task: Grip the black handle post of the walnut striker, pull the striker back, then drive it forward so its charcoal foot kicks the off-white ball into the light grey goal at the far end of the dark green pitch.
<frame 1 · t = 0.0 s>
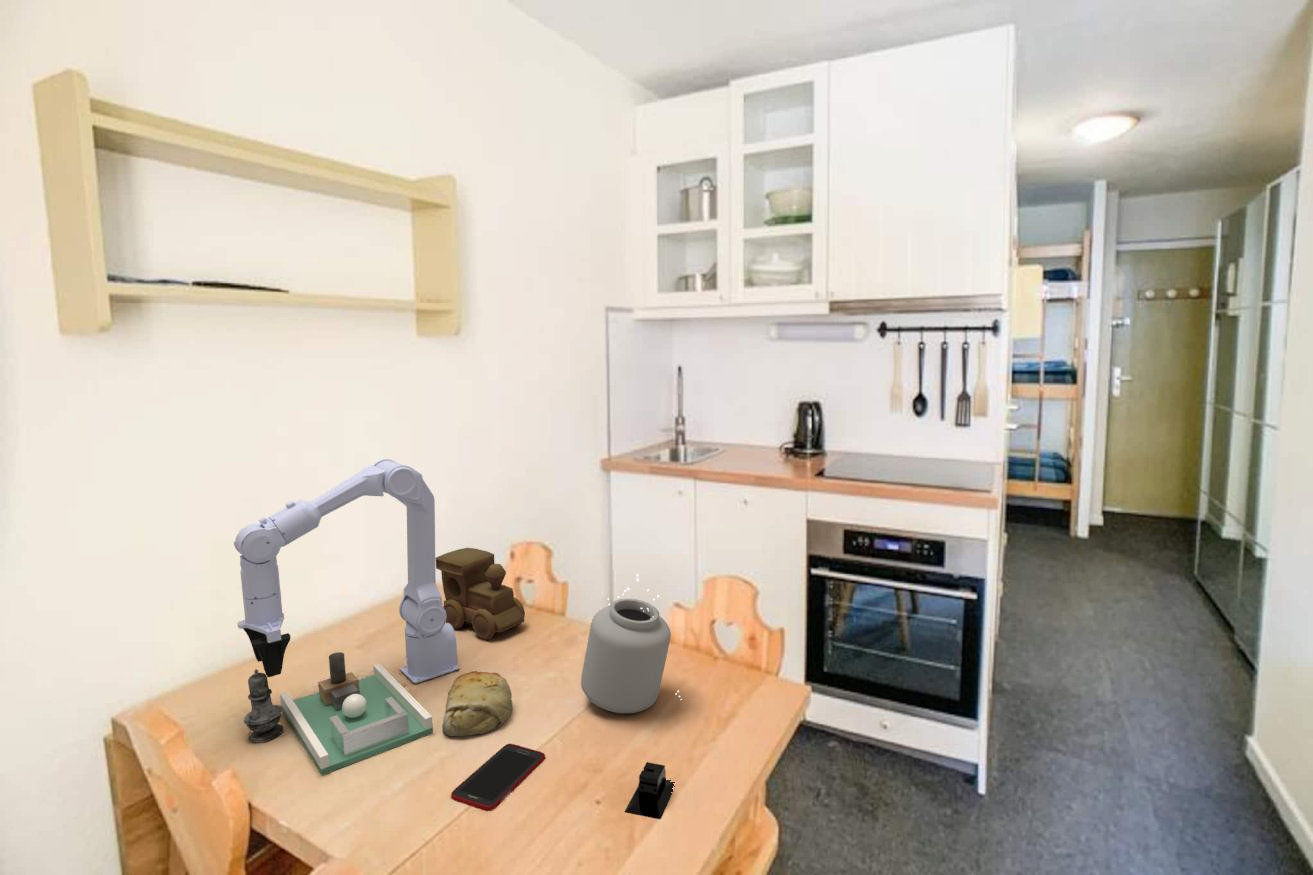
hand: (268, 667, 124), 10 cm above the table, tool pointing down, fingers open, 7 cm apart
wooden toy train: (482, 627, 165), on the table
ball: (354, 705, 125), point 3 cm above the table, touching pitch
salt shaker: (266, 734, 121), on the table, touching gripper
striker: (340, 678, 130), point 5 cm above the table, slide at 2.0 cm
goal: (369, 739, 119), resting on pitch
black stepped block: (652, 799, 105), on the table
pitch: (354, 720, 125), on the table
jar: (631, 703, 131), on the table
pastry: (477, 719, 126), on the table
cell phone: (500, 779, 109), on the table
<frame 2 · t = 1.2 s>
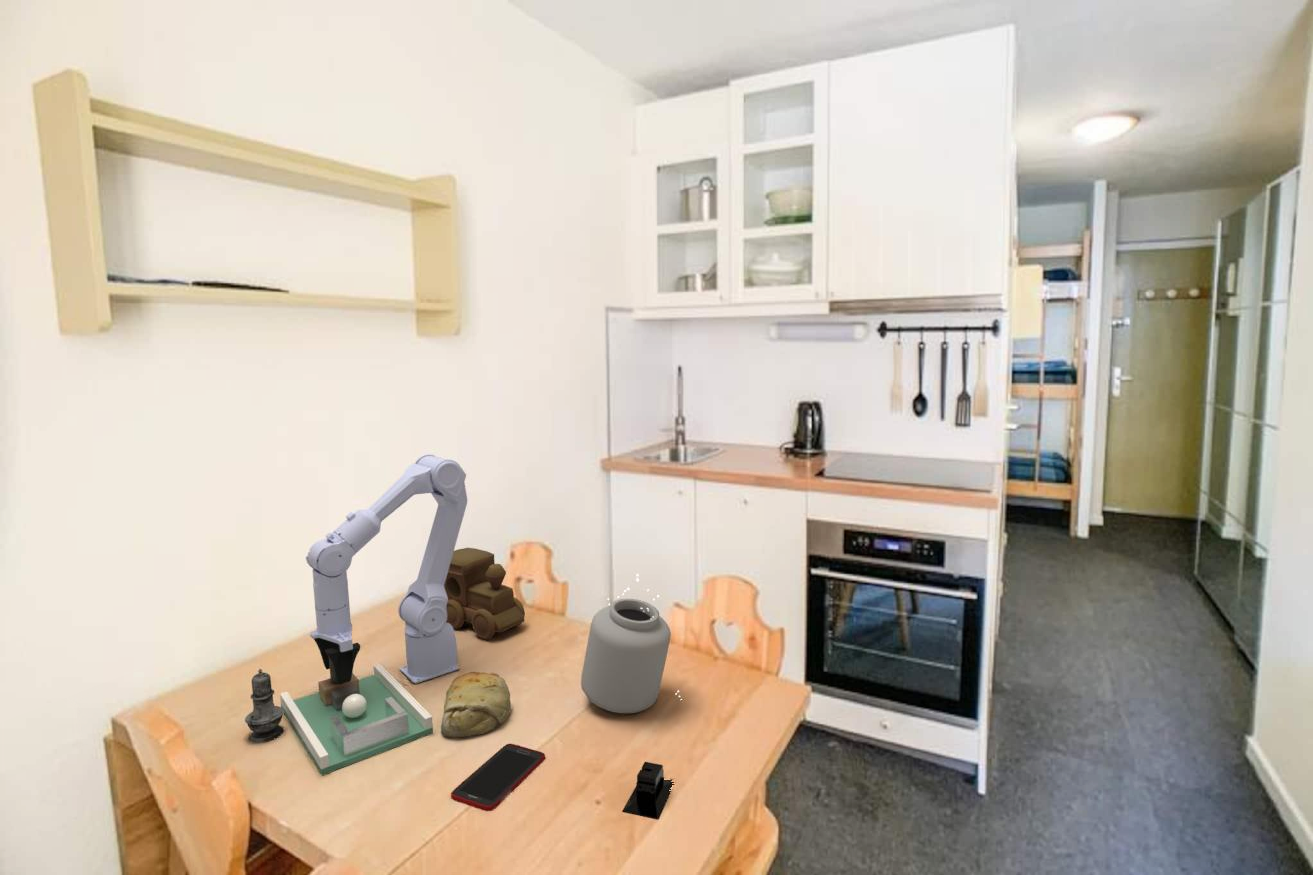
hand: (338, 674, 131), 5 cm above the table, tool pointing down, fingers open, 7 cm apart
salt shaker: (266, 735, 121), on the table
everything else where it was.
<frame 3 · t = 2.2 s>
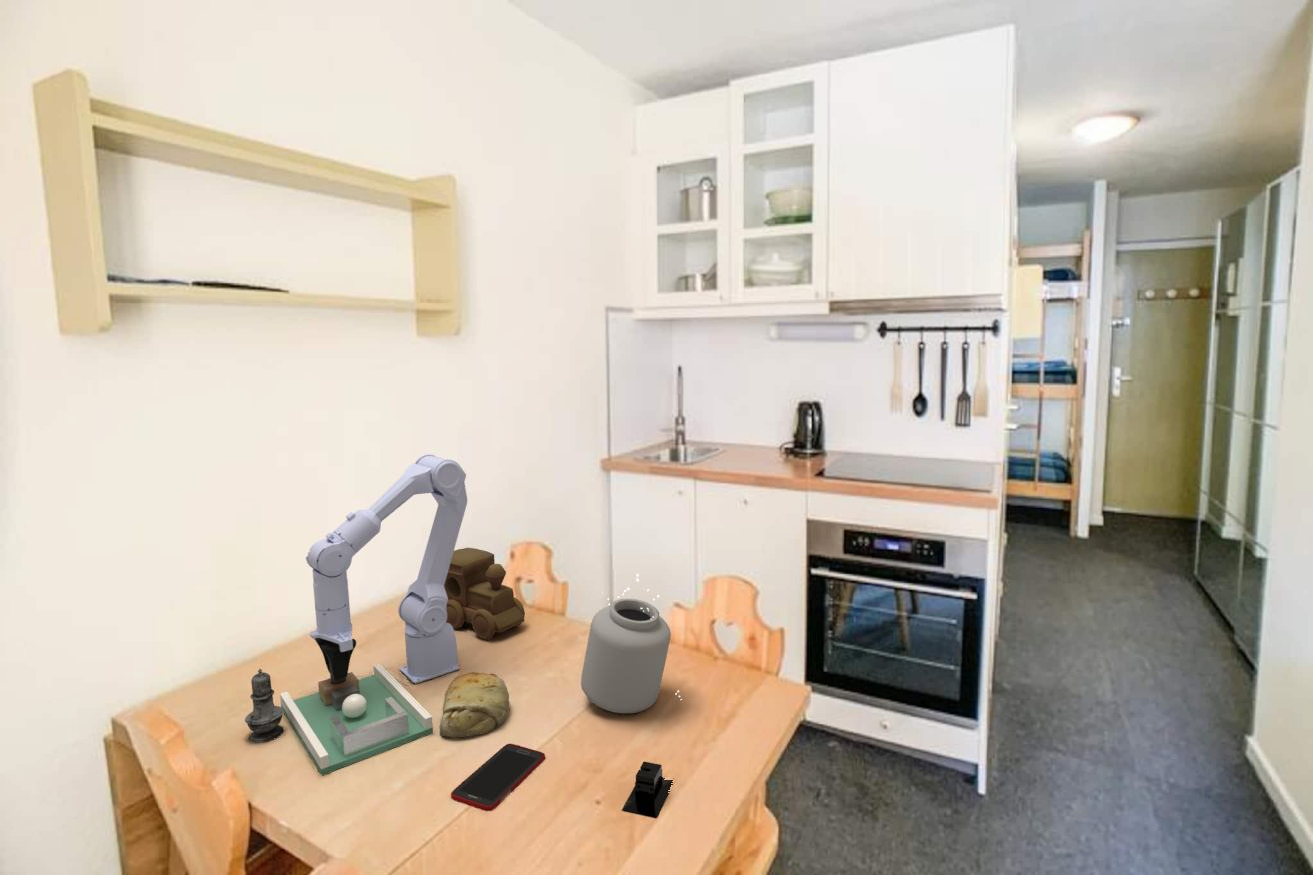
hand: (337, 674, 131), 5 cm above the table, tool pointing down, fingers closed on striker, 3 cm apart
striker: (340, 678, 130), point 5 cm above the table, slide at 2.0 cm, touching gripper
everything else where it was.
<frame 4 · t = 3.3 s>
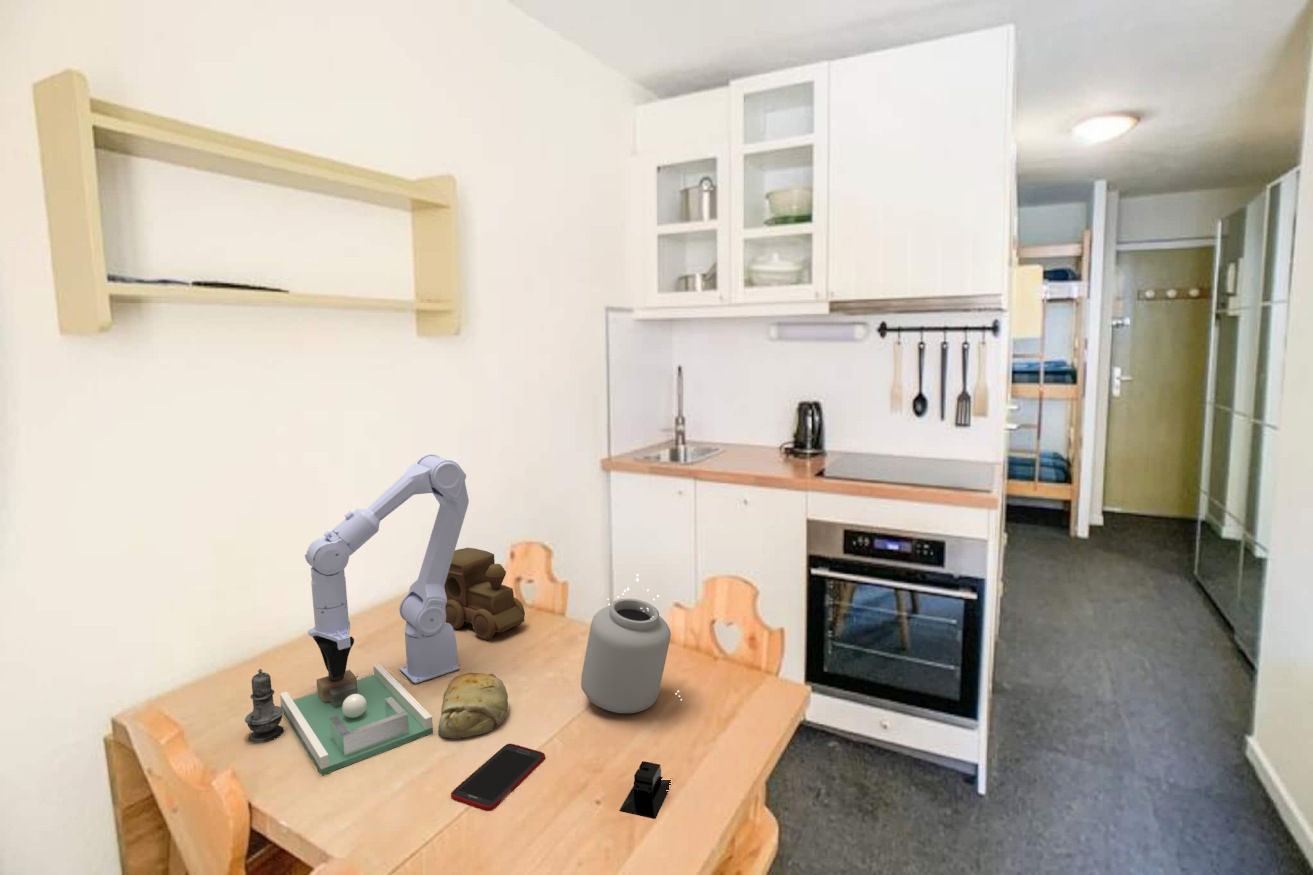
hand: (335, 672, 132), 5 cm above the table, tool pointing down, fingers closed on striker, 3 cm apart
striker: (338, 676, 131), point 5 cm above the table, slide at 0.8 cm, touching gripper
everything else where it was.
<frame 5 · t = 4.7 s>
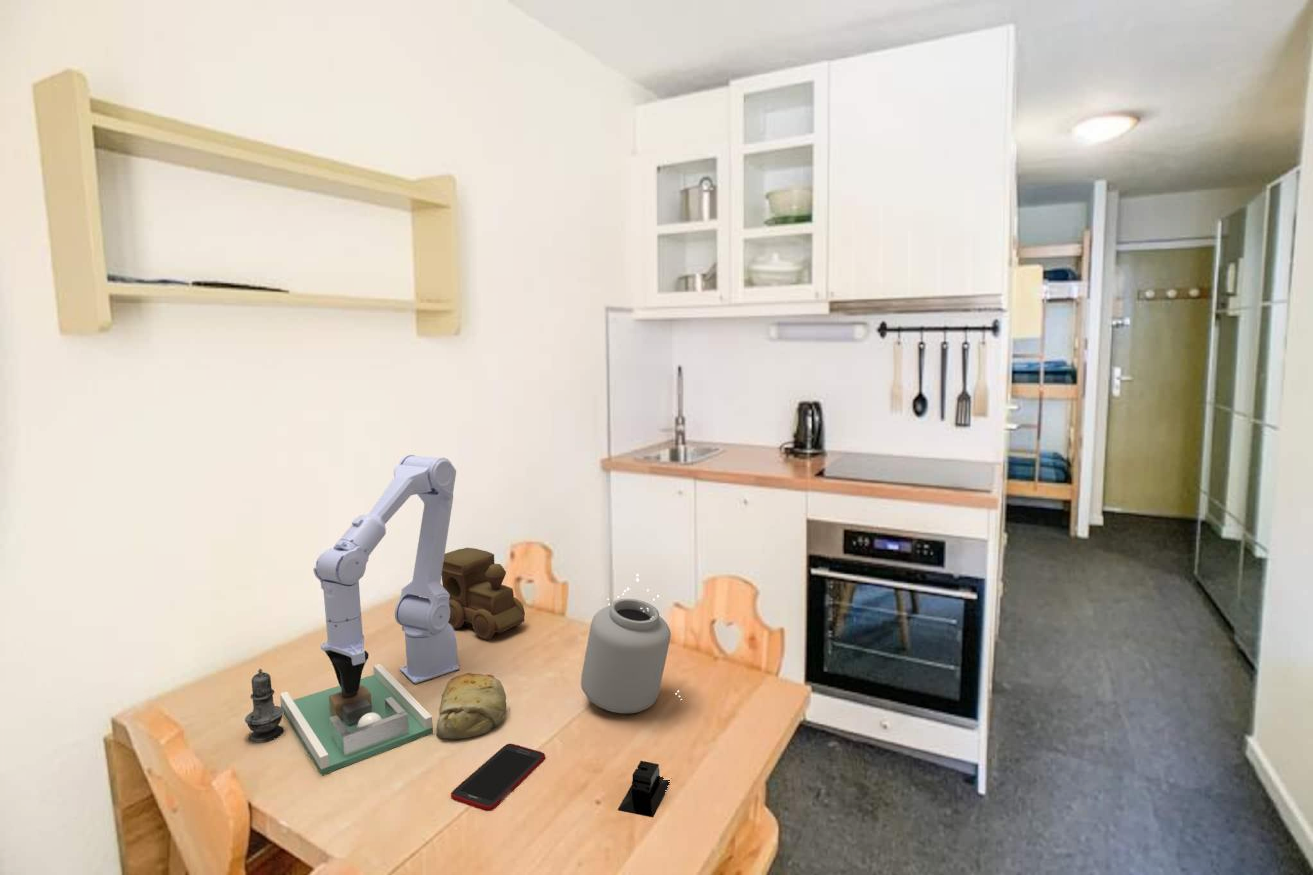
hand: (349, 688, 126), 5 cm above the table, tool pointing down, fingers closed on striker, 3 cm apart
ball: (370, 725, 118), point 3 cm above the table, tilted 125°, touching pitch
striker: (352, 692, 125), point 5 cm above the table, slide at 8.7 cm, touching gripper
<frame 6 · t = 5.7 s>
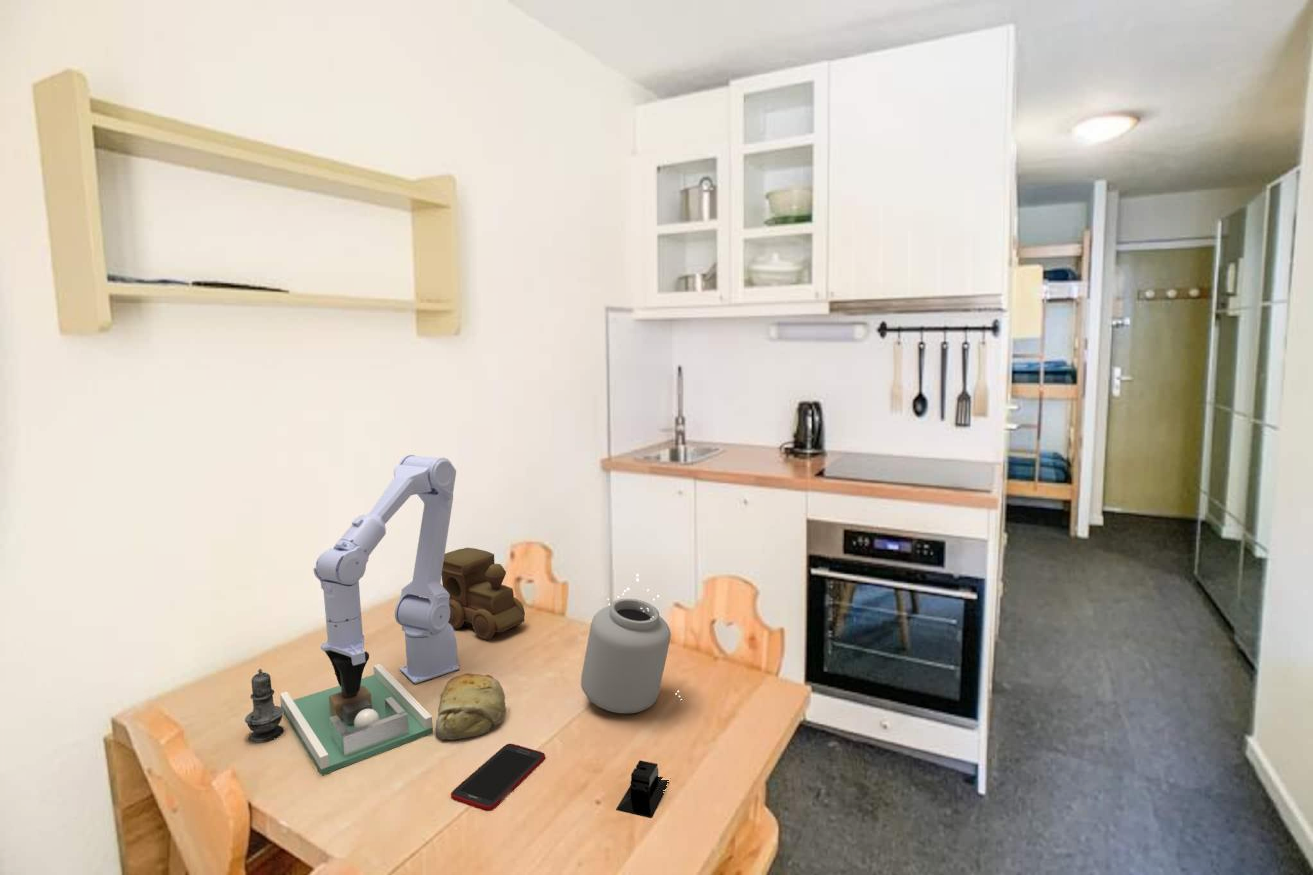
hand: (349, 688, 126), 5 cm above the table, tool pointing down, fingers open, 3 cm apart
ball: (366, 721, 120), point 3 cm above the table, tilted 173°, touching pitch
striker: (352, 692, 125), point 5 cm above the table, slide at 8.7 cm
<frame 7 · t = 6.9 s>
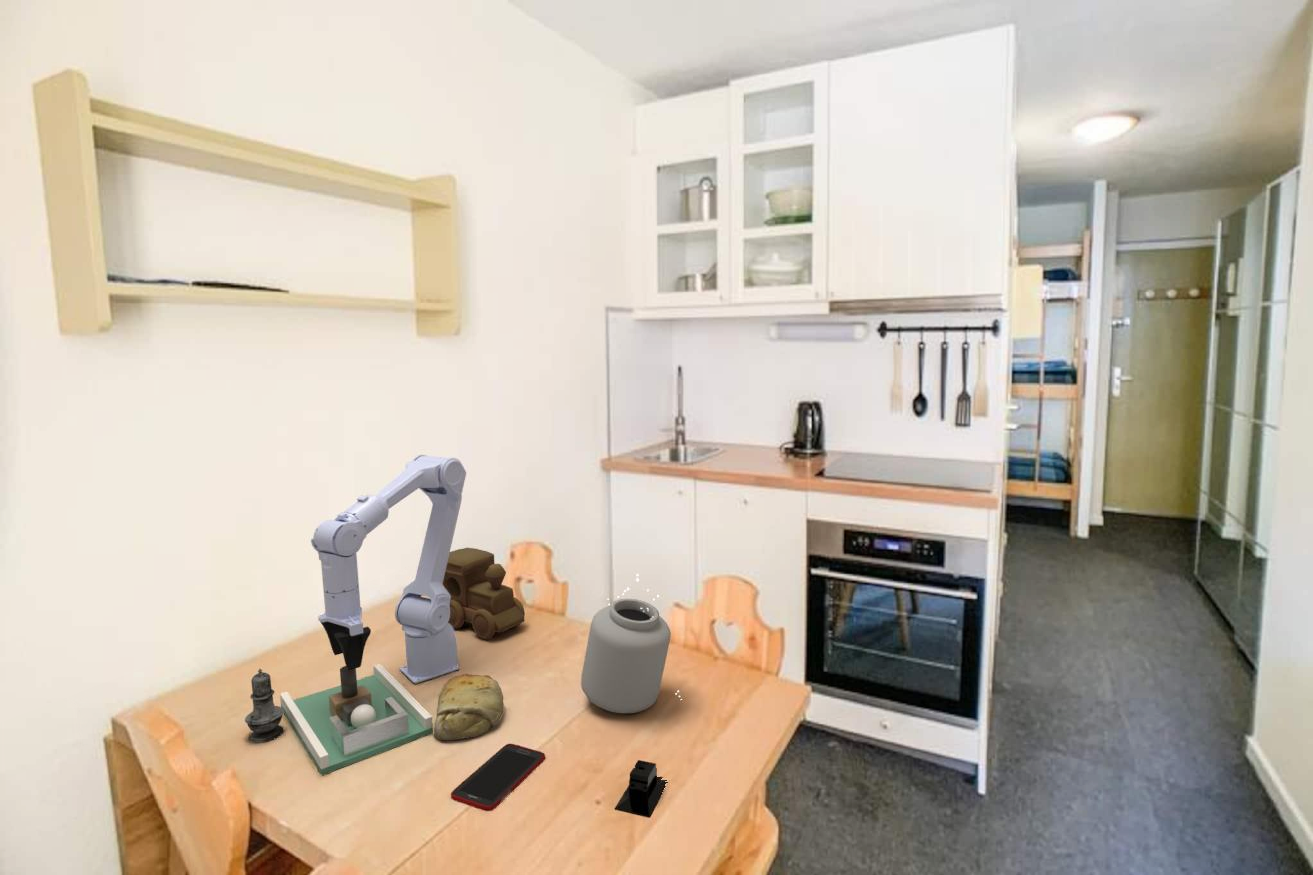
hand: (347, 660, 126), 10 cm above the table, tool pointing down, fingers open, 7 cm apart
ball: (363, 716, 121), point 3 cm above the table, tilted 133°, touching pitch
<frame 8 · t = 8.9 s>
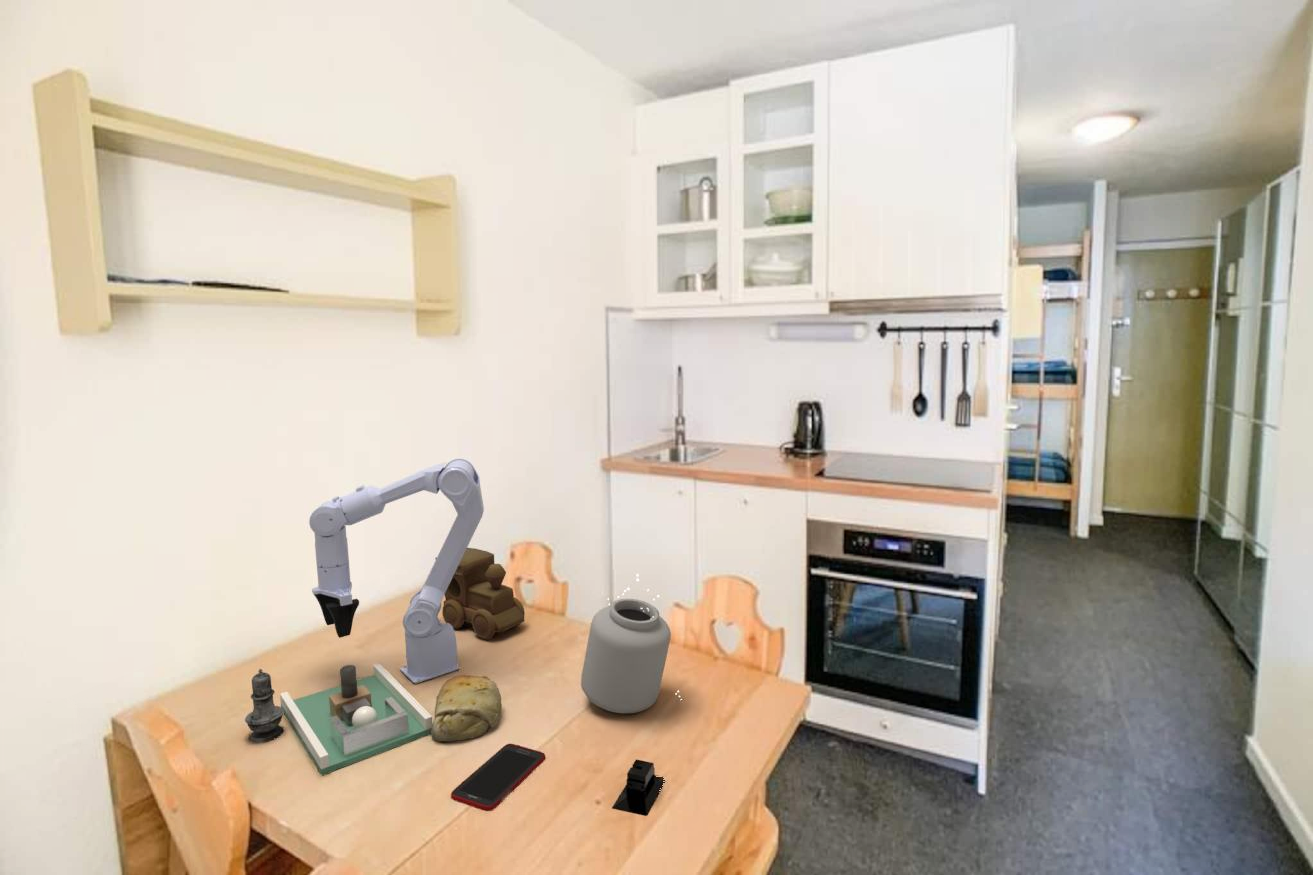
hand: (338, 629, 139), 10 cm above the table, tool pointing down, fingers open, 7 cm apart
ball: (364, 718, 120), point 3 cm above the table, tilted 155°, touching pitch
at the end: ball inside the target area on the goal (1.7 cm from its centre), point 3.0 cm above the goal's base; striker slide at 8.7 cm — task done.
